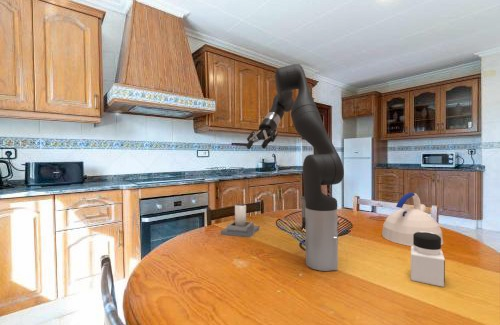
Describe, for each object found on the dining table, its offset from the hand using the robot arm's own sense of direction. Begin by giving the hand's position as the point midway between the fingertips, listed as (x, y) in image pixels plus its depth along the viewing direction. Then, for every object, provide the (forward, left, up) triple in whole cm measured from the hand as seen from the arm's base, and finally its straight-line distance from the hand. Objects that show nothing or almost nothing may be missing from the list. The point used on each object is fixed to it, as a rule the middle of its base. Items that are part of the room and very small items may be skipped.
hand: (255, 147), depth 114 cm
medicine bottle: (-57, +29, -37) cm, 74 cm away
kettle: (-61, -7, -37) cm, 72 cm away
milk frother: (-27, -9, -37) cm, 46 cm away
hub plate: (+6, +5, -37) cm, 37 cm away
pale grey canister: (+6, +5, -35) cm, 36 cm away
